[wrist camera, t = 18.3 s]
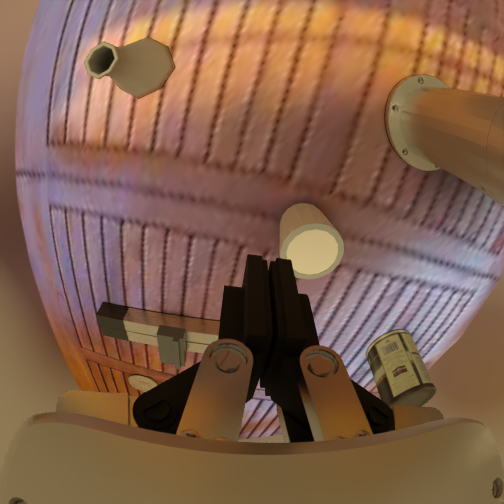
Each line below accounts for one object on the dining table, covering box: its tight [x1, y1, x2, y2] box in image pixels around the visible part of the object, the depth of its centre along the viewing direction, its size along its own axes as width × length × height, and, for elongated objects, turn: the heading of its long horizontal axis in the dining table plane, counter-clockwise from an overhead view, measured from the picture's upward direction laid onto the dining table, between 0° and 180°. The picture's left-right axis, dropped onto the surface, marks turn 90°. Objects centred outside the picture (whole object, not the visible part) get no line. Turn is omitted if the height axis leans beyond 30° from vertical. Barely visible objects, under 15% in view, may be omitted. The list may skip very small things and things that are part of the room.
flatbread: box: [129, 375, 158, 392], centre depth 55 cm, size 8×8×1 cm
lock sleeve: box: [156, 325, 186, 369], centre depth 39 cm, size 4×7×3 cm, turn 172°
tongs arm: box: [96, 302, 220, 344], centre depth 41 cm, size 24×2×3 cm, turn 82°
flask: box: [84, 37, 175, 99], centre depth 19 cm, size 7×7×10 cm
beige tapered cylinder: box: [280, 203, 344, 279], centre depth 31 cm, size 7×7×7 cm
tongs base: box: [100, 325, 210, 353], centre depth 43 cm, size 29×4×3 cm, turn 81°
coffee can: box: [366, 330, 436, 407], centre depth 42 cm, size 10×10×14 cm
